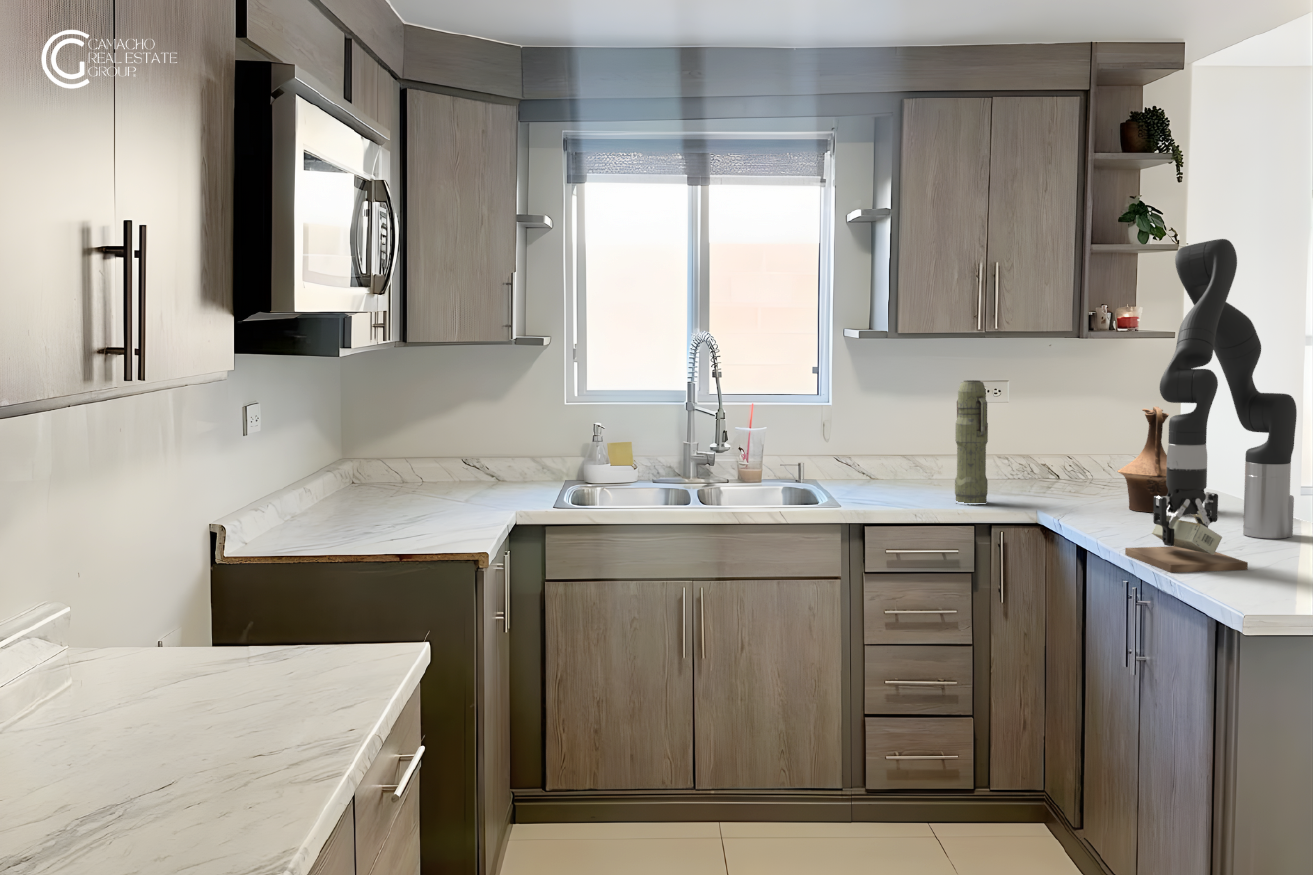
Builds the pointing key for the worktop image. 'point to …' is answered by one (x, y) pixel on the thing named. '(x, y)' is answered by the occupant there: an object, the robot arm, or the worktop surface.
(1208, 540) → the skincare box
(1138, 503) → the pitcher
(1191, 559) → the walnut board
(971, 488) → the thermos
